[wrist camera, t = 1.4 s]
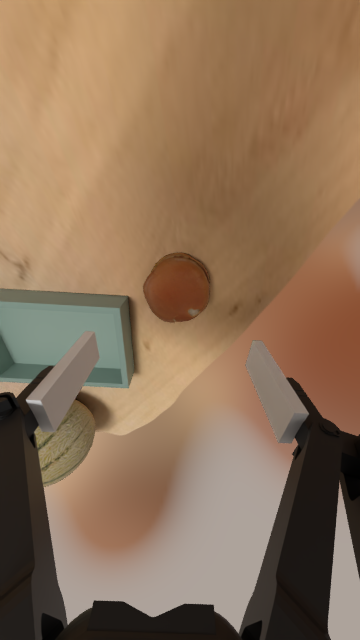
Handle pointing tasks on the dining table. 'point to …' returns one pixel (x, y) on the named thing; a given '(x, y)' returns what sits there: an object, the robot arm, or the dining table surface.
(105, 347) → the teal tray
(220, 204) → the dining table surface
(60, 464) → the cantaloupe
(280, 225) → the dining table surface
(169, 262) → the burger
